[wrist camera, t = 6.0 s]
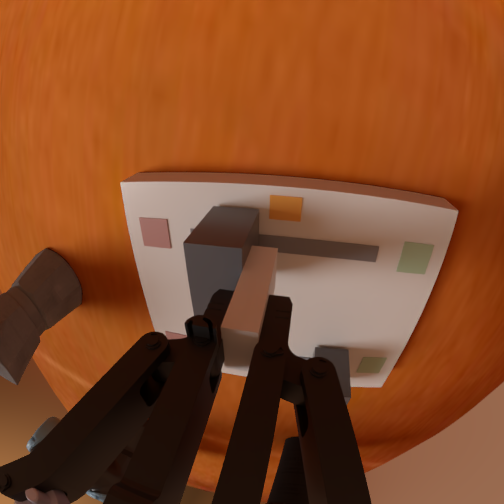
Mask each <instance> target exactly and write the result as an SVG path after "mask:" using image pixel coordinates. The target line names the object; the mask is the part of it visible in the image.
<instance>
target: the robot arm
mask: <svg viewBox="0 0 504 504" xmlns="http://www.w3.org/2000/svg"><path fill="white" fill-rule="evenodd" d="M277 253H278V248H272V247H262V246H252V247H251V249H250V252H249V255H248V257H247V260H246V262H245V265H244V267H243V270H242V273H241V275H240V278H239V280H238V283H237V286H236V288H235V291H232V290H225V289H219V290H218V291H217V292H215V293H214V294H213V295H212V297H211V300H210V302H209V304H208V306H207V309H206V310H205V312H204V314H203V315H196V316H192V317H190V318H189V319H187V320H186V322H185V323H184V324H185V329H186V334H187V337H185V338H181V339H167V337H166V335H164V334H163V333H161V332H150V333H147V334H145V335H144V336H142V337H141V338H140V339H139V340H138V341H137V342H136V343H135V344H134V345H133V346H132V347H131V348H130V349H129V350H128V351H127V352H126V353H125V354H124V355H123V356H122V357H121V358H120V359H119V360H118V361H117V362H116V364H115V365H114V366H113V367H112V368H111V369H110V370H109V371H108V372H107V373H106V374H105V375H104V376H103V377H102V378H101V379H100V380H99V381H98V382H97V383H96V384H95V385H94V386H93V387H92V388H91V389H90V390H89V391H88V392H87V393H86V394H85V396H84V397H83V398H82V399H81V400H80V401H79V402H78V403H77V404H76V405H75V406H74V407H73V408H72V409H71V410H70V411H69V412H68V413H67V414H66V415H65V417H64V418H63V419H62V420H60V419H58V418H57V417H50V418H48V419H47V420H46V421H45V422H44V423H43V424H42V425H41V426H40V427H39V428H38V429H37V431H36V432H35V433H34V435H33V437H32V438H31V439H30V440H29V441H28V443H27V446H26V447H27V449H28V451H29V452H31V453H30V454H29V455H27V456H24V457H22V458H20V459H18V460H15V461H13V462H11V463H8V464H6V465H3V466H1V467H0V492H1V493H2V494H4V495H5V496H7V497H9V498H11V499H14V500H15V503H14V504H70V503H72V502H74V501H76V500H78V499H79V498H80V497H82V496H83V495H84V494H85V493H86V494H87V495H89V496H91V497H93V498H95V499H97V500H99V501H101V502H103V504H180V502H181V499H182V496H183V493H184V490H185V487H186V484H187V481H188V478H189V475H190V472H191V469H192V466H193V463H194V460H195V457H196V454H197V451H198V448H199V445H200V442H201V439H202V436H203V433H204V430H205V427H206V424H207V421H208V418H209V415H210V412H211V409H212V405H213V402H214V399H215V396H216V393H217V390H218V387H219V384H220V381H221V378H222V370H221V369H222V366H223V363H224V366H225V368H230V369H236V370H242V371H248V374H247V378H246V382H245V386H244V390H243V393H242V397H241V401H240V405H239V409H238V412H237V416H236V420H235V424H234V427H233V431H232V435H231V438H230V442H229V445H228V449H227V453H226V456H225V460H224V463H223V467H222V470H221V474H220V477H219V480H218V484H217V487H216V491H215V494H214V498H213V501H212V504H260V501H261V497H262V492H263V488H264V483H265V478H266V473H267V468H268V463H269V458H270V453H271V448H272V443H273V437H274V432H275V426H276V420H277V414H278V408H279V402H280V398H282V399H284V400H286V401H289V402H291V403H294V409H295V415H296V421H297V428H298V434H299V440H300V447H301V453H302V459H303V466H304V472H305V479H306V486H307V492H308V499H309V504H371V499H370V495H369V490H368V486H367V482H366V478H365V474H364V469H363V465H362V461H361V457H360V454H359V450H358V446H357V442H356V438H355V434H354V431H353V427H352V423H351V420H350V416H349V413H348V409H347V406H346V402H345V399H344V395H343V392H342V388H341V385H340V382H339V378H338V375H337V372H336V368H335V366H334V365H333V363H332V362H331V361H329V360H328V359H326V358H323V357H313V358H309V359H308V360H305V359H303V358H300V357H298V356H296V355H295V354H294V353H292V351H291V350H290V348H289V346H288V339H289V331H290V323H291V315H292V306H293V304H292V302H291V299H290V297H286V296H278V295H274V290H275V282H276V268H277ZM148 418H149V420H148Z"/></svg>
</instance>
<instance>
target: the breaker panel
mask: <svg viewBox="0 0 504 504" xmlns="http://www.w3.org/2000/svg"><path fill="white" fill-rule="evenodd" d="M120 183H121V190H122V196H123V202H124V208H125V213H126V219H127V224H128V229H129V234H130V239H131V243H132V248H133V252H134V257H135V261H136V265H137V269H138V273H139V277H140V281H141V285H142V289H143V292H144V296H145V299H146V303H147V306H148V310H149V313H150V316H151V320H152V323H153V326H154V329H155V332H161V333H163V334H164V335H166V337H167V339H181V338H185V337H187V334H186V329H185V324H184V323H185V322H186V320H187V319H189V318H190V317H192V316H194V313H193V307H192V301H191V295H190V288H189V282H188V275H187V268H186V261H185V254H184V246H183V242H184V241H185V240H186V238H187V237H188V236H189V235H190V234H191V232H192V231H193V230H194V229H195V227H196V226H197V225H198V224H199V223H200V221H201V220H202V219H203V218H204V217H205V215H206V214H207V213H208V212H209V211H210V209H211V208H212V207H213V206H221V207H236V208H250V209H259V246H262V247H272V248H278V253H277V268H276V282H275V290H274V295H278V296H286V297H290V299H291V302H292V304H293V306H292V315H291V323H290V331H289V339H288V346H289V348H290V350H291V351H292V353H294V354H295V355H296V356H298V357H300V358H303V359H305V360H308V359H309V358H312V357H313V353H314V350H315V347H320V348H333V349H347V350H349V365H350V387H382V385H383V384H384V382H385V380H386V379H387V377H388V375H389V374H390V372H391V370H392V369H393V367H394V365H395V364H396V362H397V360H398V358H399V357H400V355H401V353H402V351H403V349H404V347H405V346H406V344H407V342H408V340H409V338H410V336H411V334H412V332H413V330H414V328H415V326H416V324H417V322H418V320H419V318H420V316H421V314H422V311H423V309H424V307H425V305H426V303H427V300H428V298H429V296H430V293H431V291H432V289H433V286H434V284H435V281H436V279H437V276H438V273H439V271H440V268H441V266H442V263H443V260H444V257H445V254H446V251H447V248H448V245H449V242H450V239H451V236H452V233H453V229H454V226H455V223H456V219H457V215H458V212H459V211H458V210H457V209H456V208H455V207H454V206H453V205H452V204H450V203H449V202H448V201H447V200H446V199H445V198H441V197H436V196H431V195H426V194H420V193H415V192H409V191H403V190H397V189H391V188H385V187H378V186H371V185H364V184H357V183H349V182H341V181H332V180H323V179H313V178H302V177H290V176H277V175H261V174H242V173H213V172H150V173H136V174H135V175H133V176H131V177H129V178H127V179H125V180H123V181H122V182H120ZM221 370H222V372H223V373H228V374H234V375H240V376H246V377H247V374H248V371H242V370H236V369H230V368H225V366H224V363H223V366H222V369H221Z"/></svg>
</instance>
